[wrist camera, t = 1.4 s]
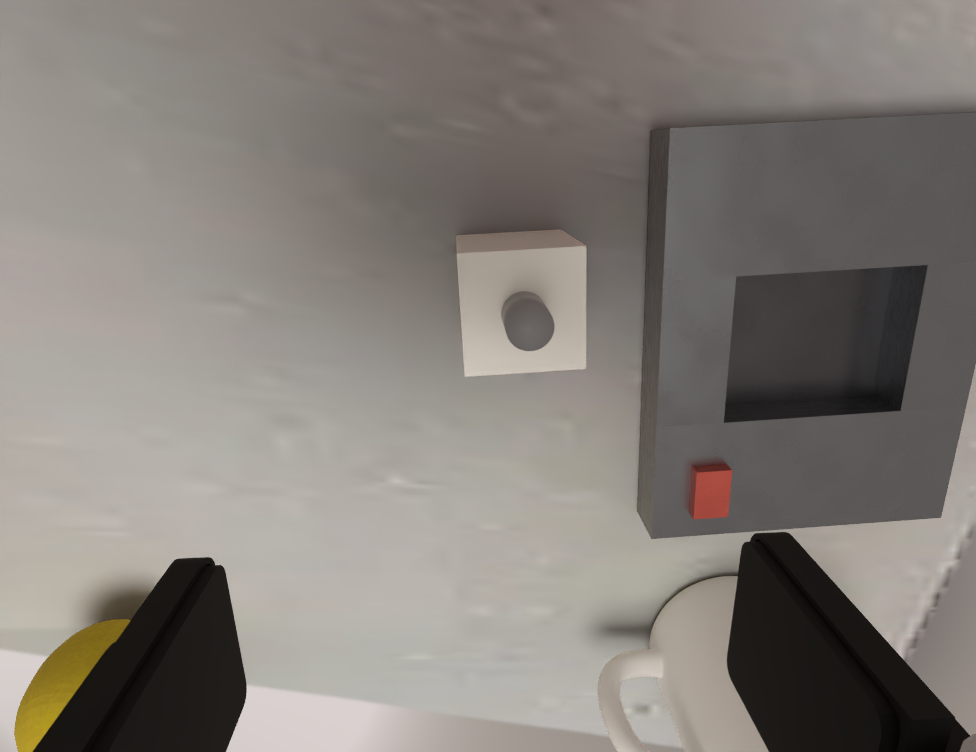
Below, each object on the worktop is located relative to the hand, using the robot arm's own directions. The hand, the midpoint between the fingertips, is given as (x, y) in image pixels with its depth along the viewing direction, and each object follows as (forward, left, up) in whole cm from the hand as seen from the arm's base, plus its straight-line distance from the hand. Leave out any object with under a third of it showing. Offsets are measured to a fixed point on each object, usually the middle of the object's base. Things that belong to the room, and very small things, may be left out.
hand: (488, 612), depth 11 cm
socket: (+1, +15, -18) cm, 23 cm away
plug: (-2, +2, -18) cm, 18 cm away
